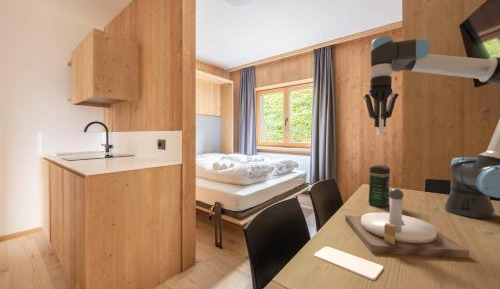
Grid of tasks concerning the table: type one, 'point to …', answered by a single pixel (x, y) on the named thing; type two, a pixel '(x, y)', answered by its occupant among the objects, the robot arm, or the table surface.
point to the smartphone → (350, 262)
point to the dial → (399, 222)
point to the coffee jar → (379, 185)
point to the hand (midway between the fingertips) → (379, 135)
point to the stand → (389, 245)
